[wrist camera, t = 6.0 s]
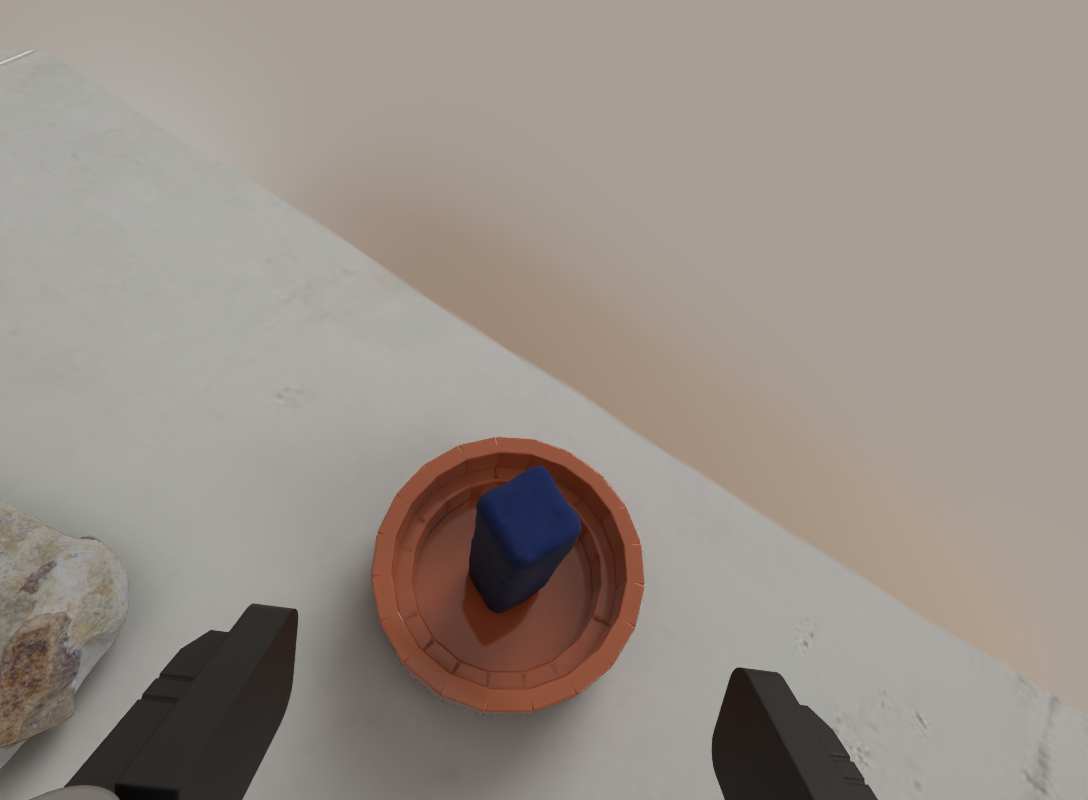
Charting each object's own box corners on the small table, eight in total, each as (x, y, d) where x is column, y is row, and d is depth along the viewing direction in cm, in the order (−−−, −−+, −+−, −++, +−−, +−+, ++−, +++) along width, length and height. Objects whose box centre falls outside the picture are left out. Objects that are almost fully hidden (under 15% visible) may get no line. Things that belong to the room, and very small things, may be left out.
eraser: (517, 534, 21) (545, 453, 15) (549, 591, 20) (592, 529, 14) (461, 563, 20) (468, 490, 14) (493, 624, 19) (514, 574, 13)
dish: (659, 561, 22) (689, 537, 19) (528, 777, 18) (542, 784, 15) (485, 432, 23) (490, 393, 20) (327, 605, 19) (309, 584, 17)
